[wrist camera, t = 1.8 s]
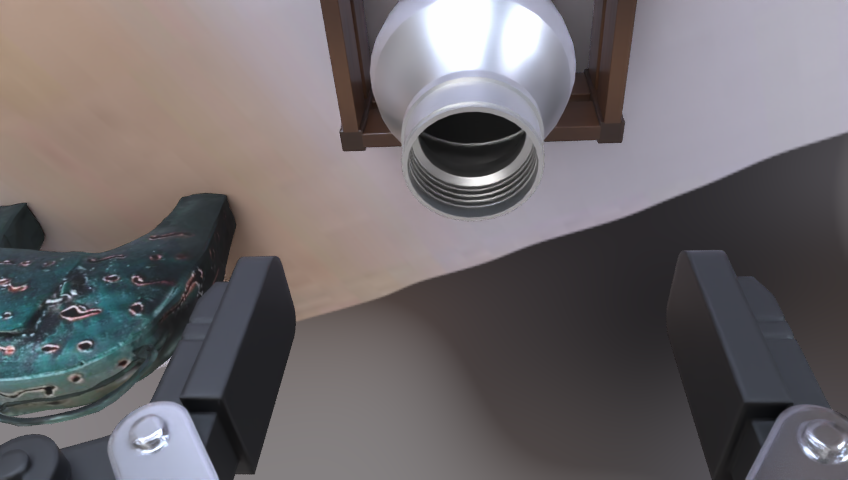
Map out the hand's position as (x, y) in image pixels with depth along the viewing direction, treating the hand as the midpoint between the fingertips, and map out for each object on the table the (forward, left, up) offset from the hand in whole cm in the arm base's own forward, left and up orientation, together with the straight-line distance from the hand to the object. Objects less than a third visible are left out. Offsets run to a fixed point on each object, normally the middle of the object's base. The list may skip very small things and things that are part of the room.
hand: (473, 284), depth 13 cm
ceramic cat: (+16, -26, -25) cm, 39 cm away
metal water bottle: (0, 0, -25) cm, 25 cm away
